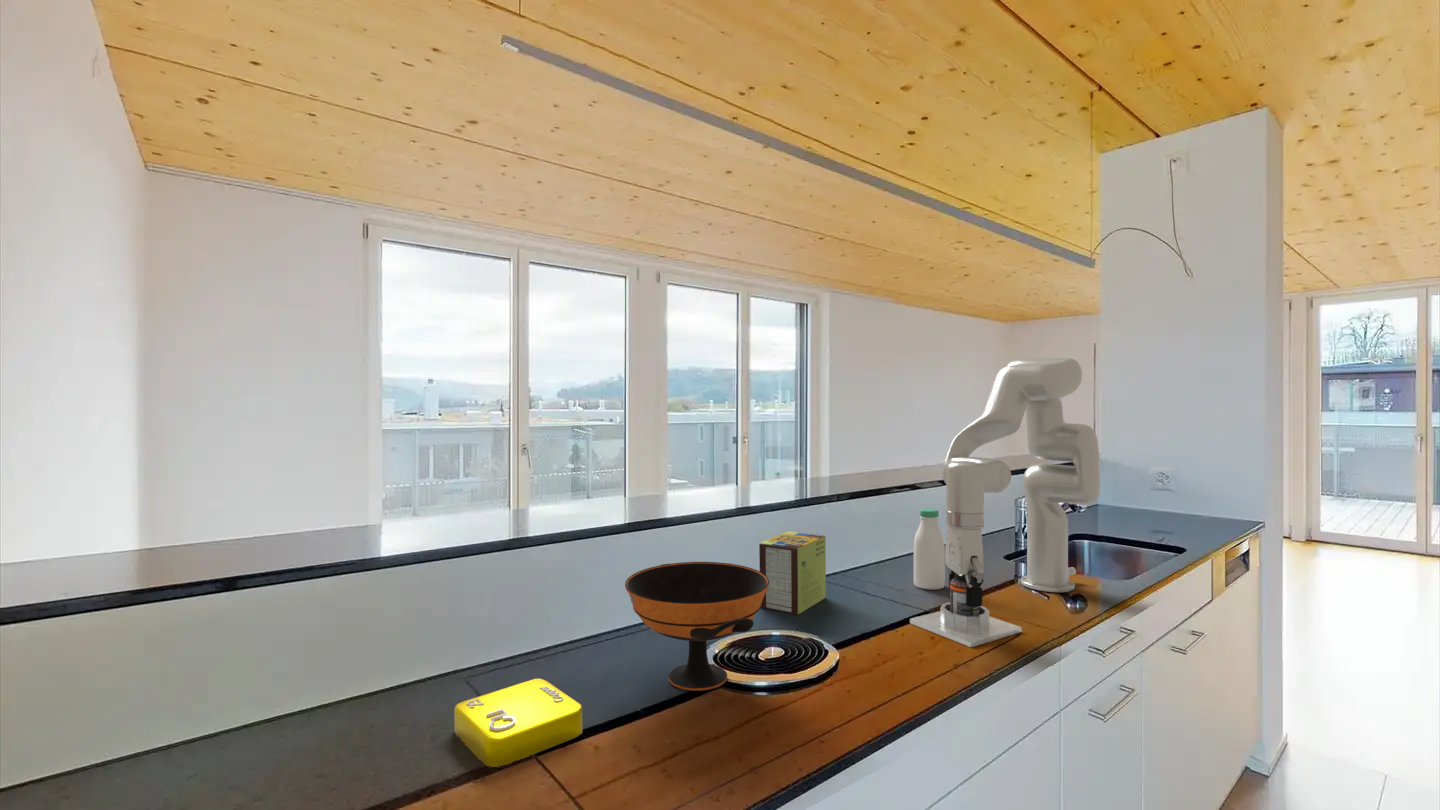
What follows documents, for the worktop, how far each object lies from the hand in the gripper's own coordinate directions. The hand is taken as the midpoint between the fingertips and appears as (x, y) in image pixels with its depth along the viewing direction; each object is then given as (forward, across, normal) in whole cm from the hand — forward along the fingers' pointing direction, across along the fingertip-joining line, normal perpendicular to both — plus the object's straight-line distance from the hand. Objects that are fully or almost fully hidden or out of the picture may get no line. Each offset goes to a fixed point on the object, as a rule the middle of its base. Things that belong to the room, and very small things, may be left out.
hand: (965, 598), depth 143 cm
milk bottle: (+7, -30, +2) cm, 31 cm away
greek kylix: (+6, +24, -57) cm, 62 cm away
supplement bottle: (+5, 0, 0) cm, 5 cm away
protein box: (+6, -18, -35) cm, 40 cm away
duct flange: (+6, 0, 0) cm, 6 cm away
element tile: (+6, +41, -84) cm, 94 cm away
